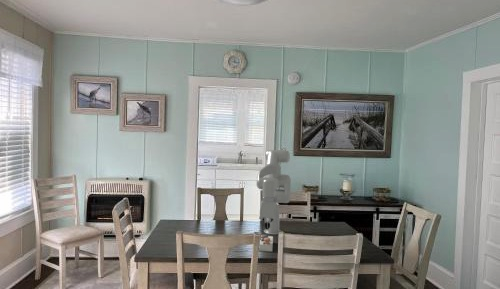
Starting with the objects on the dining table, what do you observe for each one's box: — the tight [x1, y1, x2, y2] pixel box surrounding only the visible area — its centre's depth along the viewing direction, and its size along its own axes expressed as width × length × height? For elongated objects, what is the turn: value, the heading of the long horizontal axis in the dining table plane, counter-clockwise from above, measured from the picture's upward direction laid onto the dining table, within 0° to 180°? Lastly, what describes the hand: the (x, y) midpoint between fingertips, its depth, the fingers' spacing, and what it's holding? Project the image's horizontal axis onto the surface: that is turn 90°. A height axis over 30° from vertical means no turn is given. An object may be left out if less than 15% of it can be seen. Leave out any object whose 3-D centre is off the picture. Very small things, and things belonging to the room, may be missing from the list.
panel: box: [258, 235, 274, 253], centre depth 243 cm, size 19×10×4 cm, turn 176°
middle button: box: [261, 234, 269, 241], centre depth 243 cm, size 4×4×3 cm
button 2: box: [264, 238, 270, 245], centre depth 237 cm, size 4×4×3 cm
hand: (267, 229), depth 236 cm, fingers closed
